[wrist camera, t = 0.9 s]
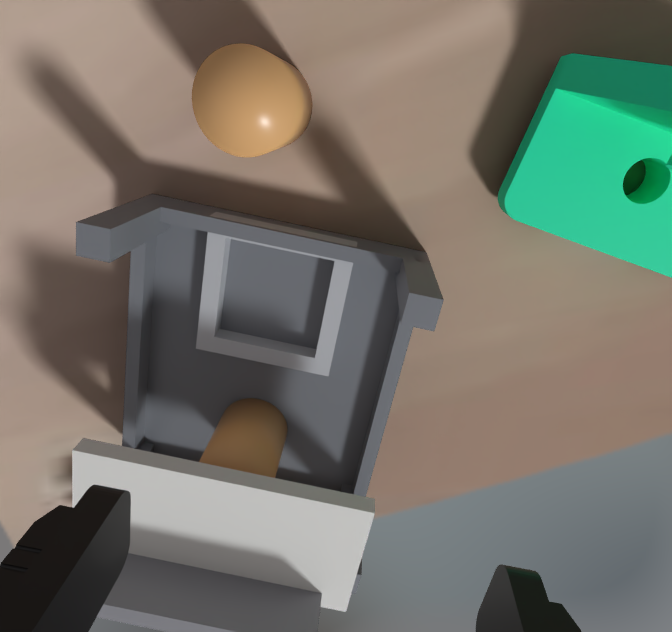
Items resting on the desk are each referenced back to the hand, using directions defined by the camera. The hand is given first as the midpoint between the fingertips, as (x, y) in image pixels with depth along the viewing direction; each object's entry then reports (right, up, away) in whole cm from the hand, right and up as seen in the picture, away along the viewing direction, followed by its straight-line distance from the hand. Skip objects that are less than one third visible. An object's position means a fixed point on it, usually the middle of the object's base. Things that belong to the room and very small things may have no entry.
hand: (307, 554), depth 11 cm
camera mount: (+16, +13, +16) cm, 26 cm away
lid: (-5, -6, +16) cm, 18 cm away
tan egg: (-3, +16, +16) cm, 23 cm away
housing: (-4, +2, +22) cm, 22 cm away
